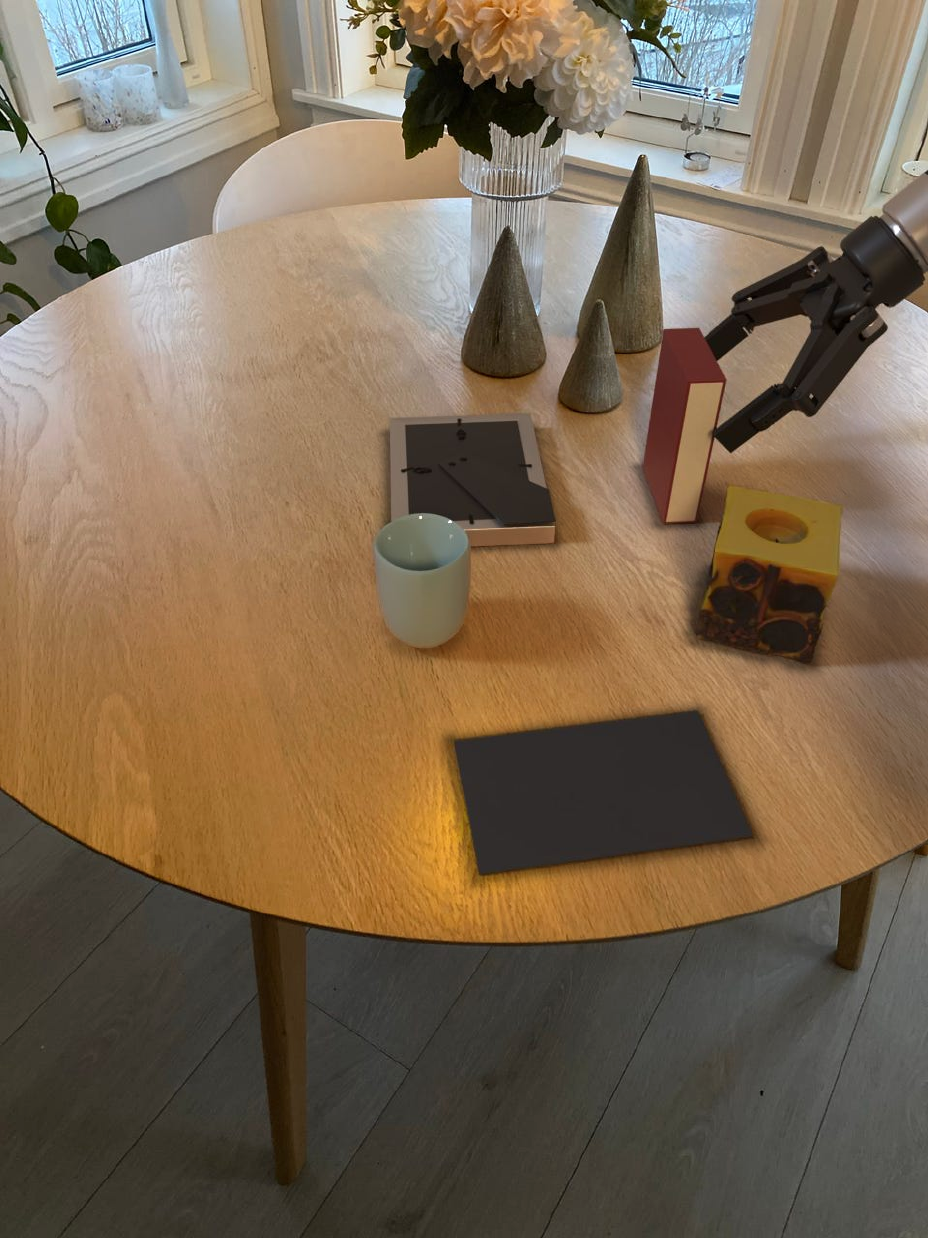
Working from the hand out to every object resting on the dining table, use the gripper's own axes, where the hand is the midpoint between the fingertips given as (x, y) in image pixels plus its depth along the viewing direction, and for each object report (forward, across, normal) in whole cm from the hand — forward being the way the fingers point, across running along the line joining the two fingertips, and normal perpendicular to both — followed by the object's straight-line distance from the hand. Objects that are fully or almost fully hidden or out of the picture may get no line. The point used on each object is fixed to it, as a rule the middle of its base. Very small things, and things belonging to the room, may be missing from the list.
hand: (702, 404), depth 93 cm
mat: (+18, -37, +4) cm, 41 cm away
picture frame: (+24, +3, +9) cm, 25 cm away
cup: (+27, -19, +12) cm, 35 cm away
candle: (+6, -19, -9) cm, 22 cm away
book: (+9, 0, -6) cm, 11 cm away
